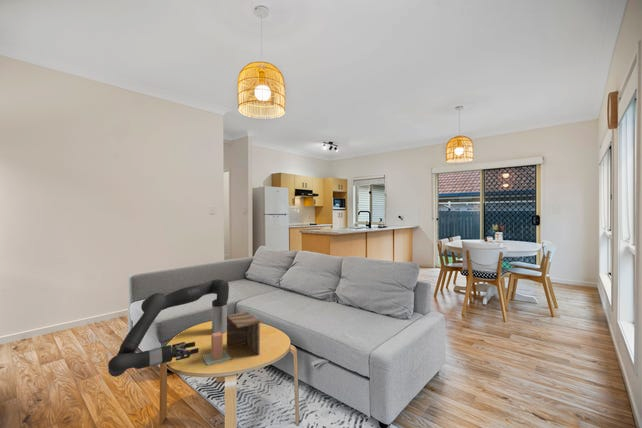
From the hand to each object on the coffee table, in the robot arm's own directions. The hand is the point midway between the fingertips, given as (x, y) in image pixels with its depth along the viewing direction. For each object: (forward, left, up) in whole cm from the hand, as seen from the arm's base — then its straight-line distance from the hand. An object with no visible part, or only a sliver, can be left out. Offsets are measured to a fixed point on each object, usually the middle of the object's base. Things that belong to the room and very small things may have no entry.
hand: (196, 347), depth 147 cm
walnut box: (-1, +24, -8) cm, 25 cm away
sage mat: (-1, +10, -8) cm, 13 cm away
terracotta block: (0, +10, -8) cm, 13 cm away
